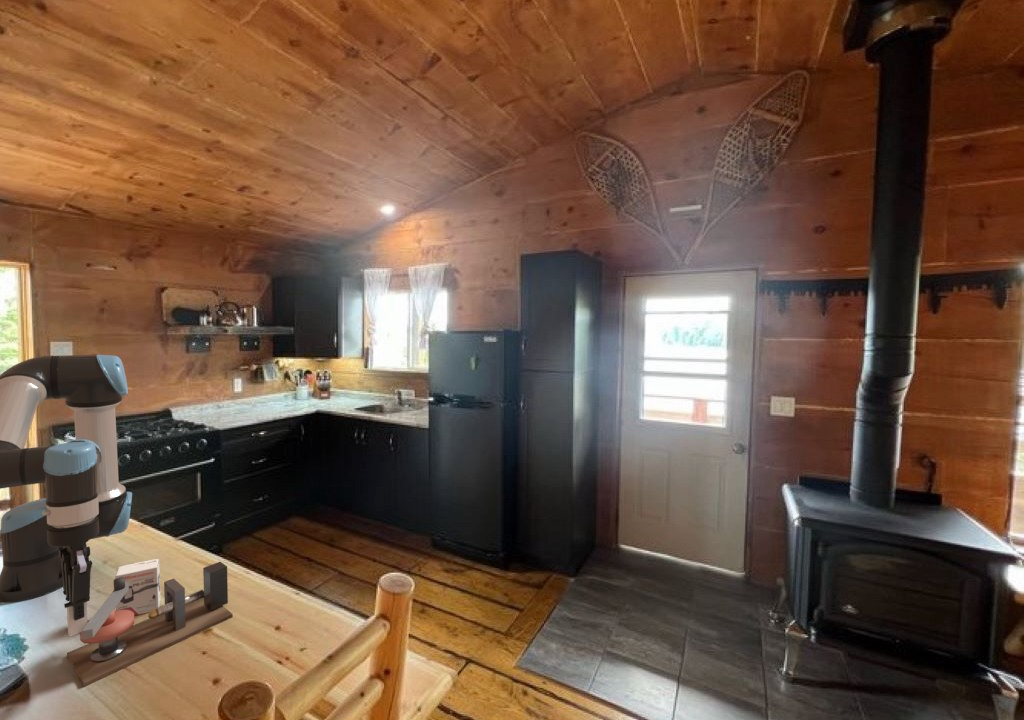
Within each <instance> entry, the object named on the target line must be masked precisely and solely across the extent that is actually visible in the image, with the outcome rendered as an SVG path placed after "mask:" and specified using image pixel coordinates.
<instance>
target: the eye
mask: <svg viewBox="0 0 1024 720" xmlns="http://www.w3.org/2000/svg"><path fill="white" fill-rule="evenodd" d="M163 591H164V595H163V596H164V605H165V604H167V603H170V602H172V601H173V611H170V612H168V613H165V620H166V621H167V622H170V621H172V620H173V629H174V630H175V631H178V630H180V629H182V628H184V627H186V620H185V596H186V589H185V587H184V586H183V585H182V584H181V583H179V582H178V581H177V580H176V579H175V578H171V579H167V580H166V581H164V582H163Z"/></svg>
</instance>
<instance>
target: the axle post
mask: <svg viewBox="0 0 1024 720" xmlns="http://www.w3.org/2000/svg"><path fill="white" fill-rule="evenodd" d="M126 647H127V644H126V642H125V641H118V637H115V638H113V639H110V640H107V641H104V642H100V643H99V647H98V648H97V649H95V650H94V651H93V652H92V653H91V656H90V659H91V661H92V662H97V663H98V662H104V661H108V660H111V659H113V658H115V657H117V656H119V655H120V654H122V653H123V652H124V651H125V650H126Z"/></svg>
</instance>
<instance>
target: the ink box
mask: <svg viewBox="0 0 1024 720" xmlns="http://www.w3.org/2000/svg"><path fill="white" fill-rule="evenodd" d="M160 574H161V570H160V559H159V558H153V559H148V560H145V561H138V562H135V563H130V564H129V563H128V564H125V565H121V566H118V567H117V569H116V572H115V576H114V579H116V578H119V577H125V582H129V590H128V591H127V592H126V594H125V595H124V596H123V598H122V599H121V600H120V602H119V603H118V605H117V606H116V607H115V611H117V610H130V611H132V612H133V613H134V617H135V616H139V615H143V614H146V613H147V614H148V613H149V611H150V610H152V609H154V608H158V607H160V606H161V605H160V604H161V575H160Z"/></svg>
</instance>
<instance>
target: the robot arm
mask: <svg viewBox="0 0 1024 720" xmlns="http://www.w3.org/2000/svg"><path fill="white" fill-rule="evenodd" d="M128 394H129V389H128V380H127V376H126V372H125V367H124V363H123V361H122V359H121V358H120V357H119V356H117V355H107V354H75V355H74V354H73V355H72V354H71V355H66V354H65V355H41V356H35V357H31V358H28V359H26V360H23V361H21V362H19V363H17V364H15V365H12V366H11V367H9V368H7V369H6V370H5V371H3V372H1V374H0V490H1V489H7V488H13V487H21V486H29V485H36V484H44V486H45V487H44V488H45V497H43V498H40V499H35V500H32V501H27V502H25V503H22V504H19V505H17V506H15V507H12V508H11V509H9V510H8V511H6V512H5V513H4V514H3V515H2V517H1V518H0V538H1V550H2V551H1V552H2V569H1V572H0V603H1V602H3V603H12V602H20V601H21V602H22V601H27V600H31V599H34V598H39V597H40V596H44V595H47V594H49V593H52V592H55V591H56V590H59V589H61V588H63V591H62V593H63V595H64V596H65V600H66V603H64V604H63V605H64V609H66V614H67V615H66V618H67V635H68V636H69V637H72V636H74V635H76V634H80V632H81V631H82V630H83V628H84V627H85V626H86V625H87V622H88V606H87V605H88V604H87V602H90V599H91V597H90V596H91V595H90V594H91V593H90V592H91V591H90V589H91V571H92V567H93V566H92V565H93V562H92V560H90V556H91V548H90V546H87V543H88V542H89V541H91V540H94V539H101V538H105V537H106V538H108V537H110V536H112V535H113V536H114V535H117V534H122V533H123V532H125V531H126V530H127V529H128V527H129V523H130V517H131V508H132V500H133V499H132V498H133V492H132V491H126V490H127V489H126V486H125V485H123V484H121V483H120V482H119V481H120V480H119V463H118V443H117V442H118V441H117V439H118V437H117V420H116V417H117V416H116V407H118V406H119V404H121V403H122V401H123V397H125V396H127V395H128ZM60 399H61V400H62V399H65V406H66V407H68V408H69V409H71V410H72V411H73V419H74V421H73V422H74V434H75V435H74V436H75V439H73V440H70V441H67V442H65V443H64V442H63V443H59V444H56V445H46V446H36V447H25V446H26V445H27V444H26V443H27V440H28V437H29V433H30V430H31V428H32V427H31V426H32V424H33V421H34V418H35V414H36V411H37V407H38V406H39V405H40V404H42V403H43V402H45V400H60Z"/></svg>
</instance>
